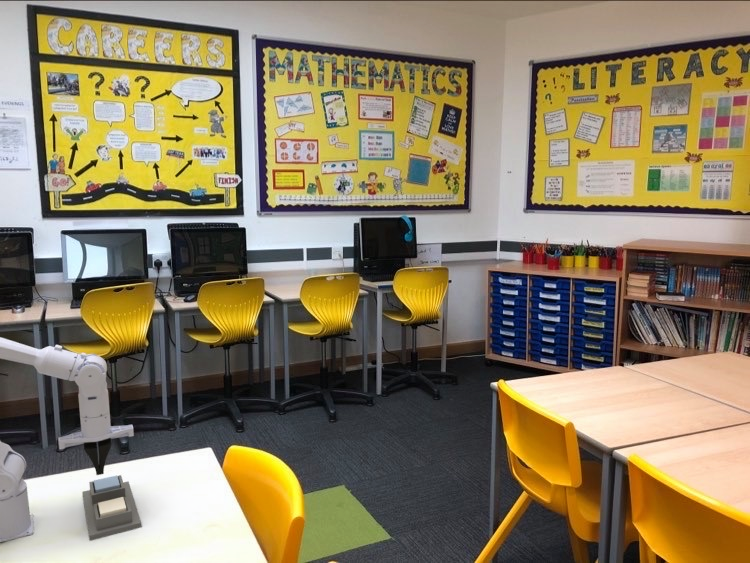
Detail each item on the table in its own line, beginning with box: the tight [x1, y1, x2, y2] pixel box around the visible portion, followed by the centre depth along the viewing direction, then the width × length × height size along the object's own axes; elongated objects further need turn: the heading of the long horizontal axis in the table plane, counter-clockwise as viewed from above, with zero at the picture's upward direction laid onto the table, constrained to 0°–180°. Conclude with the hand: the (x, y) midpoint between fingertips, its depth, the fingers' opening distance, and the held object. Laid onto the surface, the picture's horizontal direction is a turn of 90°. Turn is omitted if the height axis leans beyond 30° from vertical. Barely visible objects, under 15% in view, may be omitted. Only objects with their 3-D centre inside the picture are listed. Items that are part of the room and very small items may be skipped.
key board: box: [82, 474, 143, 541], centre depth 136 cm, size 10×20×4 cm, turn 28°
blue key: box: [93, 475, 120, 493], centre depth 141 cm, size 5×5×2 cm
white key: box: [98, 497, 126, 517], centre depth 131 cm, size 5×5×2 cm
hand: (99, 472), depth 133 cm, fingers closed
